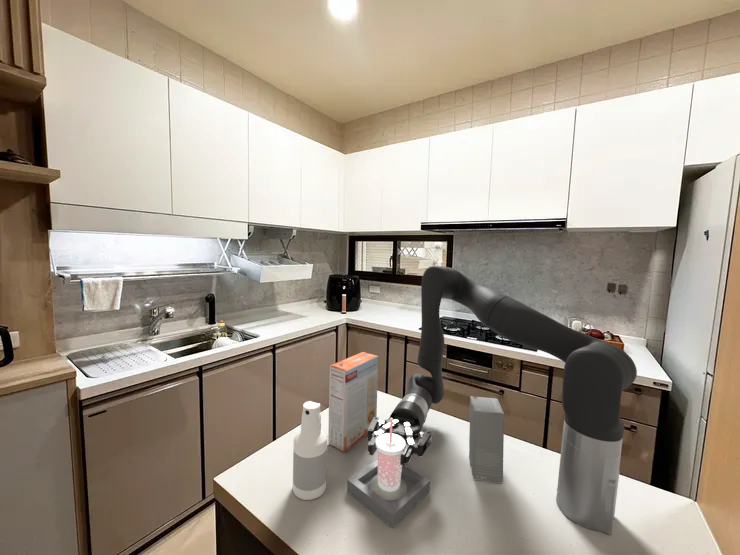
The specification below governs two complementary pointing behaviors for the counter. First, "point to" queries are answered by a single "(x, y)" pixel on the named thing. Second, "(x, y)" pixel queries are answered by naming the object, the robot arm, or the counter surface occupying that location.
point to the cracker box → (352, 399)
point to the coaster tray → (388, 493)
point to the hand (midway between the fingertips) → (386, 455)
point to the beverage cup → (389, 459)
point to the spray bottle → (310, 455)
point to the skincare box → (486, 439)
